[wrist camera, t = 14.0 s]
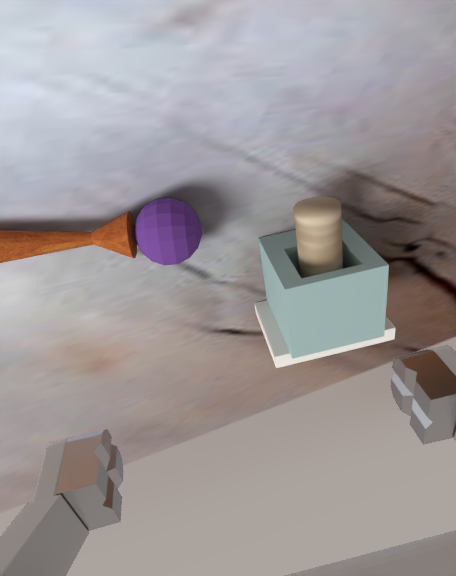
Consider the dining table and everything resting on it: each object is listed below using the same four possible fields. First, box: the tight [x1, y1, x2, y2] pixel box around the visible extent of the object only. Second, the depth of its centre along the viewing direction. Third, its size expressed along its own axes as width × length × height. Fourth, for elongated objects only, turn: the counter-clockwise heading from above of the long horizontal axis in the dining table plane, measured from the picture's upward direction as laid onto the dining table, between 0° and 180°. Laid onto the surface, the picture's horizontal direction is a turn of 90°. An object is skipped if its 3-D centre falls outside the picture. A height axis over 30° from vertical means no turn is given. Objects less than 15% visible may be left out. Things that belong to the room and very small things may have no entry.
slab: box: [254, 300, 395, 368], centre depth 43 cm, size 2×12×9 cm, turn 100°
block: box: [258, 219, 389, 359], centre depth 40 cm, size 8×9×10 cm
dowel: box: [294, 196, 343, 279], centre depth 38 cm, size 10×4×4 cm, turn 10°
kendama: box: [0, 198, 202, 265], centre depth 36 cm, size 6×6×20 cm
